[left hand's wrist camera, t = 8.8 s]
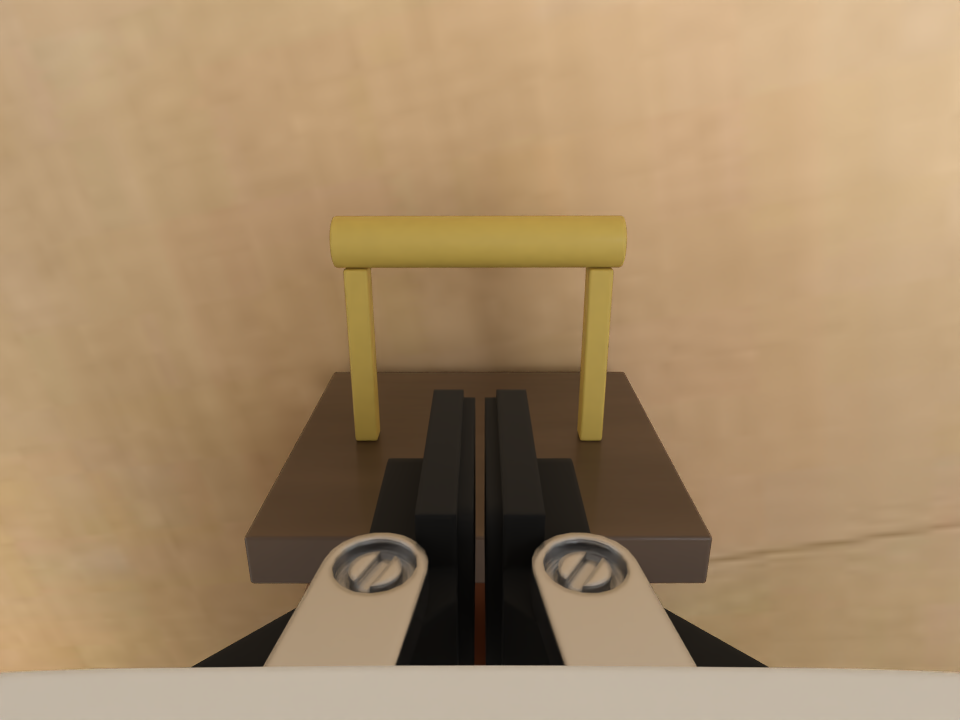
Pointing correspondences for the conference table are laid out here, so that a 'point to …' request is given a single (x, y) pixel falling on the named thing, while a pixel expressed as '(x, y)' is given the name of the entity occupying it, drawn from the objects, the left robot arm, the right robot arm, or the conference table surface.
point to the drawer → (477, 409)
